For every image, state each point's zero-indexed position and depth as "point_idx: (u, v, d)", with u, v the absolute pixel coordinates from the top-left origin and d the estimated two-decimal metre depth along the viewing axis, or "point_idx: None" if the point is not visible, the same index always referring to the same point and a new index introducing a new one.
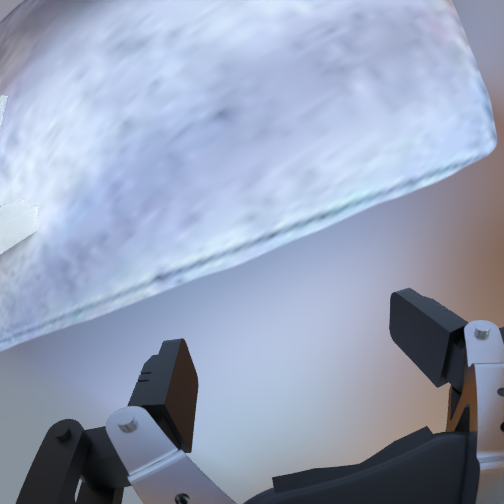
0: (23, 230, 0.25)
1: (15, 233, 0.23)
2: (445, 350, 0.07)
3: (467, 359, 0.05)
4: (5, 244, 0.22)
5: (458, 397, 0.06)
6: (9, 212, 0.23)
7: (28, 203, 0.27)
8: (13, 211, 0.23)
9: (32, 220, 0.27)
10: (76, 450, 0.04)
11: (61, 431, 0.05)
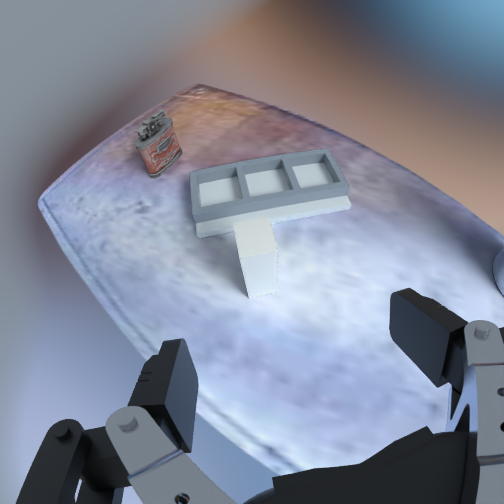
0: (256, 285, 0.31)
1: (258, 278, 0.30)
2: (445, 350, 0.07)
3: (467, 359, 0.05)
4: (251, 271, 0.28)
5: (458, 397, 0.06)
6: None
7: None
8: None
9: (263, 291, 0.33)
10: (76, 450, 0.04)
11: (61, 431, 0.05)
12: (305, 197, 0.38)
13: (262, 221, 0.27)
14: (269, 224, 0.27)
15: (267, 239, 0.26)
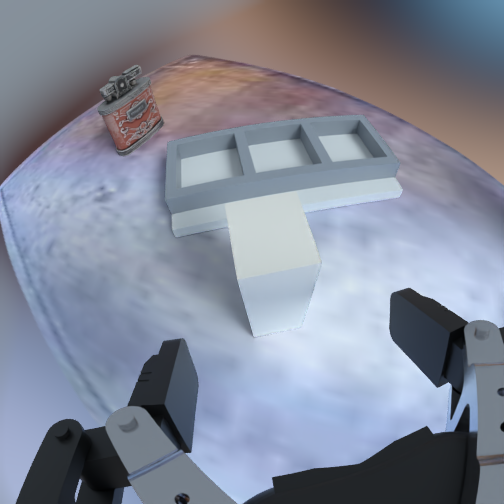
0: (269, 321, 0.17)
1: (272, 312, 0.16)
2: (445, 350, 0.07)
3: (467, 359, 0.05)
4: (260, 301, 0.14)
5: (458, 397, 0.06)
6: None
7: None
8: None
9: (279, 328, 0.19)
10: (76, 450, 0.04)
11: (61, 430, 0.05)
12: (339, 176, 0.24)
13: (284, 201, 0.13)
14: (299, 207, 0.13)
15: (297, 238, 0.12)
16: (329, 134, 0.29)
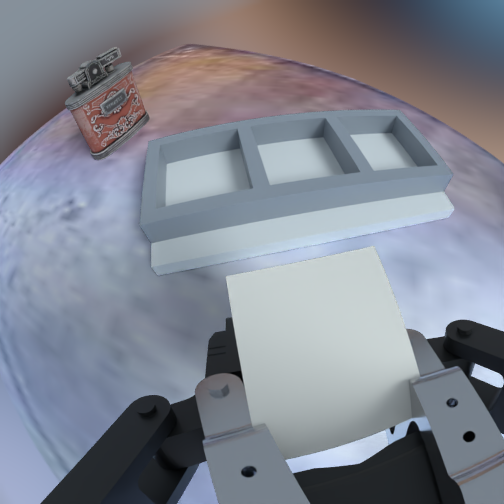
0: None
1: None
2: None
3: None
4: None
5: None
6: None
7: None
8: None
9: None
10: (167, 425, 0.05)
11: (146, 408, 0.06)
12: (382, 190, 0.17)
13: (354, 272, 0.06)
14: (385, 286, 0.06)
15: (385, 362, 0.05)
16: (359, 133, 0.22)
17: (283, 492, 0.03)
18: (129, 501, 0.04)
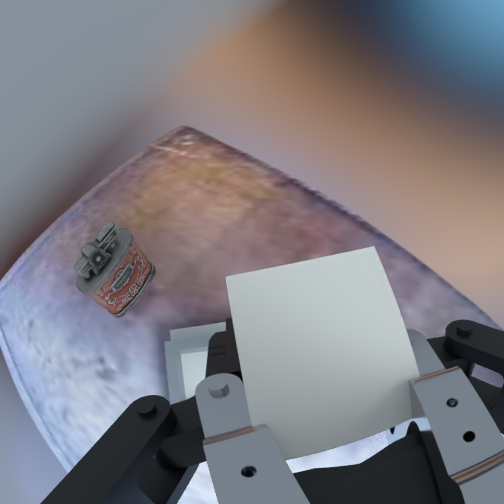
0: None
1: None
2: None
3: None
4: None
5: None
6: None
7: None
8: None
9: None
10: (167, 425, 0.05)
11: (145, 407, 0.06)
12: None
13: (354, 272, 0.06)
14: (385, 286, 0.06)
15: (385, 363, 0.05)
16: None
17: (283, 492, 0.03)
18: (129, 501, 0.04)
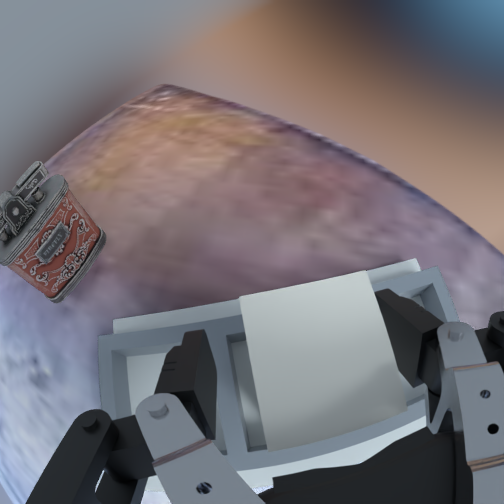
0: None
1: None
2: (419, 350, 0.07)
3: (443, 362, 0.05)
4: None
5: (436, 399, 0.06)
6: None
7: None
8: None
9: None
10: (105, 440, 0.05)
11: (88, 421, 0.05)
12: None
13: (347, 293, 0.07)
14: (373, 305, 0.07)
15: (372, 369, 0.06)
16: None
17: None
18: None
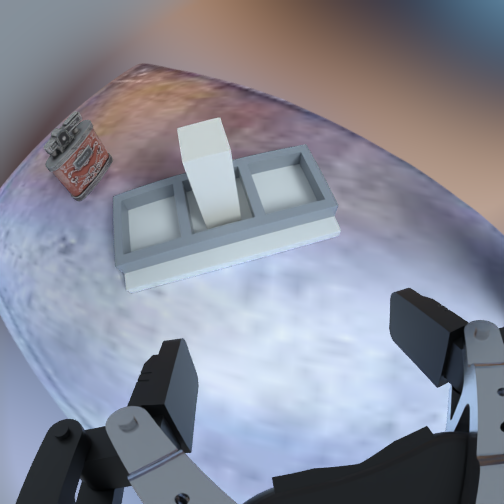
0: (213, 208, 0.25)
1: (212, 196, 0.23)
2: (445, 350, 0.07)
3: (467, 359, 0.05)
4: (201, 184, 0.22)
5: (458, 397, 0.06)
6: None
7: None
8: None
9: (223, 218, 0.27)
10: (76, 450, 0.04)
11: (61, 431, 0.05)
12: (273, 227, 0.27)
13: (212, 123, 0.20)
14: (220, 125, 0.20)
15: (217, 139, 0.20)
16: (269, 169, 0.31)
17: None
18: None
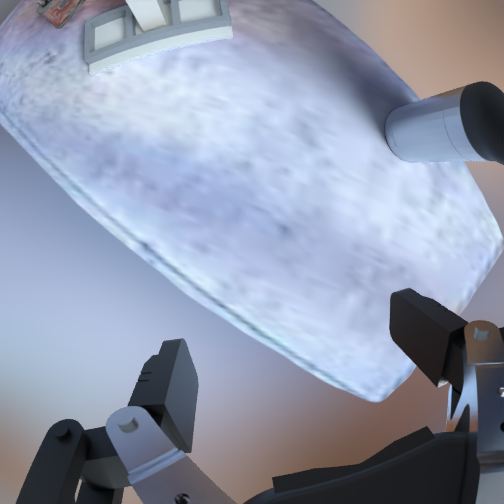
0: (146, 21, 0.27)
1: (145, 14, 0.25)
2: (445, 350, 0.07)
3: (467, 359, 0.05)
4: (137, 9, 0.23)
5: (458, 397, 0.06)
6: (160, 4, 0.25)
7: (166, 18, 0.29)
8: (161, 7, 0.26)
9: (154, 26, 0.29)
10: (76, 450, 0.04)
11: (61, 431, 0.05)
12: (185, 30, 0.30)
13: None
14: None
15: None
16: None
17: None
18: None
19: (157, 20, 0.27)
